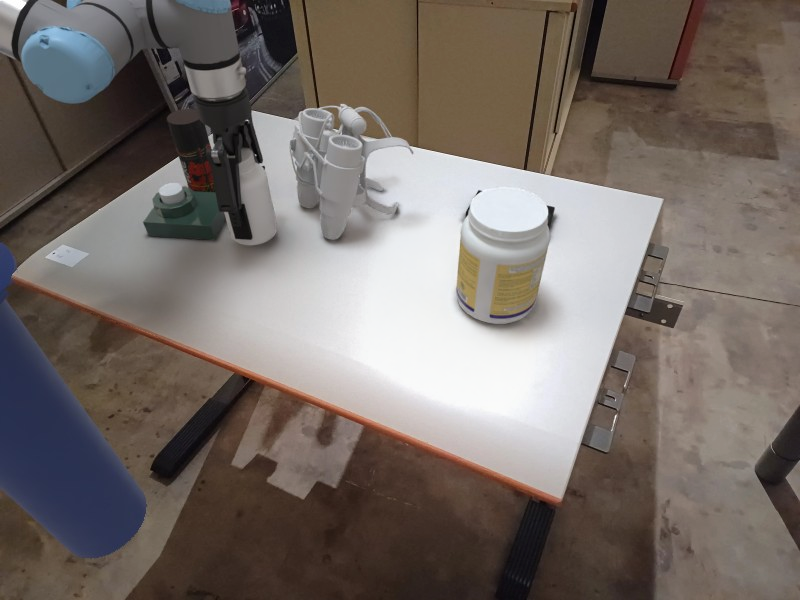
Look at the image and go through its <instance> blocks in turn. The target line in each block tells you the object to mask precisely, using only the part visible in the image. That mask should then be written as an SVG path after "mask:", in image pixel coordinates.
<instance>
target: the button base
mask: <svg viewBox="0 0 800 600" xmlns="http://www.w3.org/2000/svg"><path fill="white" fill-rule="evenodd" d="M182 187H183V190H184V193H185V196H186V198H185V200H183V201H182V202H180V203H177V204H173V205H167V204H164V203H163V202H162V200H161V197H160V195H159V191H158V192H156V193H155V195H154V196H153V198H152V199H151V200H152V205H153V207H152V209H151V210H150V212H149V213H148V215H147V216H146V217H145V219H144V220H143V222H142V223H143V226H144V228H145V230H146V233H147V235H148V237H159V238H160V237H162V238H177V239H179V238H180V239H195V240H211V241H215V240H216V239H217V237H218V235H219V233H220V231H221V230H222V227H223V225H224V224H225V222H226V217H225V214H224V212H220V211H219V208H218V203H217V198H216V193H215V192H198V191H193V190H192V189H190V188H189V187H188V186H183V185H182Z"/></svg>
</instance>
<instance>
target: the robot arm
mask: <svg viewBox="0 0 800 600" xmlns="http://www.w3.org/2000/svg"><path fill="white" fill-rule="evenodd" d="M145 49H146V50H147V49H150V50H151V49H156V50H157V49H158V50H159V49H161V50H162V49H164V50H165V49H169V50H170V49H178V50H179V53H180V56H181V58H182V62H183V65H184V70H185V74H186V78H187V81H188V85H189V89H190V92H191V94H193V97H192V98H193V102H194V105H195V109H196V110H197V113H198V117H199V119H200V121H201V122H202V123H203V124H205V126H206V127H207V126H208V128H210V129H211V132H212V142H213V145H214V146H213V148H211V149H207V150H206V156H207V159H208V161H209V164H210V167H211V172H212V178H213V183H214V188H215V193H216V198H217V203H218V208H219V211H220V212H228V214H229V218H230V222H231V225H232V229H233V232H234V236H235V239H244V240H252V238H253V236H252V232H251V228H250V224H249V220H248V216H247V212H246V208H245V204H242V203H241V189H240V174H239V163H241V161H242V157H241V149H242V148H248V149H250V150H251V151H252V152H253V156H254V160H255V163H258V164H259V165H261V164H262V165H261V166H262V167H263V168H264V170H265V171H266V167H265V165H263V163H264V157H263V155H262V150H261V147H260V143H259V140H258V137H257V133H256V129H255V126H254V121H253V115H252V113H253V109H252V105H251V99H250V94H249V90H248V89H247V87H246V85H247V83H246V82H247V81H246V77H245V75H247V69H246V67H244V66H243V63H242V58H241V52H240V49H239V43H238V38H237V33H236V28H235V22H234V17H233V11H232V4H231V0H66V6H63V5H61V4H60V3H57V2H55V1H53V0H0V53H1V54H3V55H5V56H7V57H9V58H11V59H13V60H16V61H17V62H19V63H21V64H22V65H21V66H22V68H23V71H24V72H25V74H26V76H27V78H28V79H29V81H30V82H31V83H32V84H33V85H35V86H36V87H38V89H40V90H41V91H42V94H44V95H45V96H47V97H49V98H50V99H52V100H54V101H58V102H60V103H65V104H71V105H72V104H73V105H74V104H81V103H86V102H87V101H90V100H91V99H92V98H93V97H95V96H96V95H98V94H99V93H101V92H102V91H104V90H105V89H106V88H108V87H109V85H110V84H111V82H112V81H113V80H114V78H115V77H116V76H117V75H118V73H120V71H121V70H122V69H123V68H124V67H125V66H126V65H127V64H129V63H130V62H131V61H132V60H133V59H134V58H135V57H136V56H137V55H138V53H140V51H142V50H145ZM229 156H235V158H228V157H229Z"/></svg>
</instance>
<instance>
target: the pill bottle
mask: <svg viewBox="0 0 800 600" xmlns="http://www.w3.org/2000/svg"><path fill="white" fill-rule="evenodd" d="M241 157H242V161H241V163H239V174H240V189H241V203H242V204H245V208H246V212H247V216H248V220H249V224H250V228H251V232H252V236H253V238H252V240H244V239H235V236H234V232H233V229H232V225H231V222H230V218H229V214H228V212H224V214H225V217H226V220H225V222H226V224H227V227H228V231H229V234H230V237H231V238H232V239H233V241H234V242H235V243H237V244H239V245H242V246H257V245H262V244H264V243H266V242H268V241H270V240H271V239H272V238H273V237H274V236H275V235H276V233H277V231H278V225H277V224H278V223H277V219H276V214H275V209H274V204H273V199H272V194H271V190H270V184H269V180H268V174H267V172H266V169H265V170H264V168H263V167H262V166H263V165H261V164H260V163H259V164H258V163H255V160H254V156H253V152H252V151H251V150H250V149H248V148H242V149H241ZM228 158H235V156H229V157H228Z"/></svg>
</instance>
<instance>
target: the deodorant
mask: <svg viewBox="0 0 800 600" xmlns="http://www.w3.org/2000/svg"><path fill="white" fill-rule="evenodd" d="M166 121H167V125H168V127H169V131H170V135H171V138H172V140H173V144H174V146H175V150H176V153H177V155H178V159H179V162H180V165H181V168H182V172H183V174H184V177H185V181H186V184H187V187H188V188H190V189H192V190H193V191H198V192H215V188H214V183H213V178H212V172H211V167H210V164H209V161H208V159H207V156H206V150H207V149H212V146H211V143H210V142H211V141H210V138H209V134H208V132H207V126H206V125H205V124H203V123H202V122H201V121H200V119H199V117H198V113H197V110H196V108H182V109H178V110H175V111H173V112H170V113H169V114H168V116H167V117H166Z"/></svg>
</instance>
